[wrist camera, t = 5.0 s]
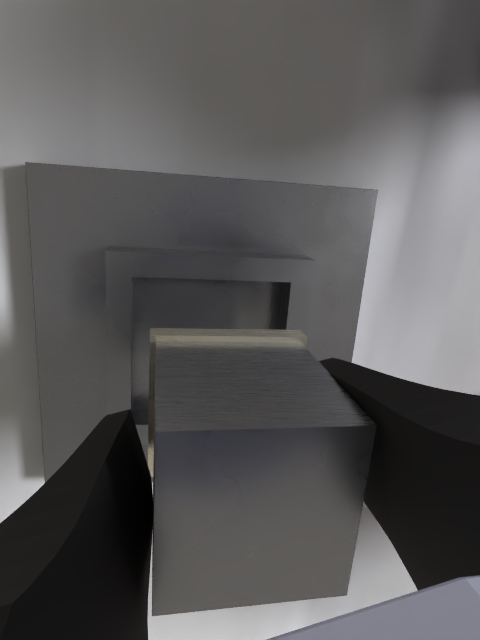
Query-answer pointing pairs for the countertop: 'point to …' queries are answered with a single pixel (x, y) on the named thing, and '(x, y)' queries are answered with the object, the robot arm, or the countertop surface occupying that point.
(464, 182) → the countertop surface
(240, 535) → the brushed metal block
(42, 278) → the stand base
